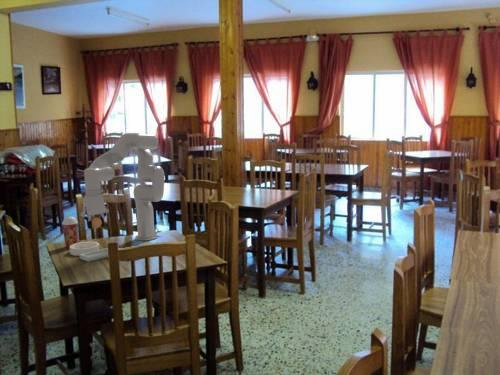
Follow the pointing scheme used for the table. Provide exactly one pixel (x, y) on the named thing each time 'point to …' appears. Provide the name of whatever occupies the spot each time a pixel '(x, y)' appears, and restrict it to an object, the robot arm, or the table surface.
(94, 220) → the ball
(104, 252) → the tray
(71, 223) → the smoothie
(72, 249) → the bowl
